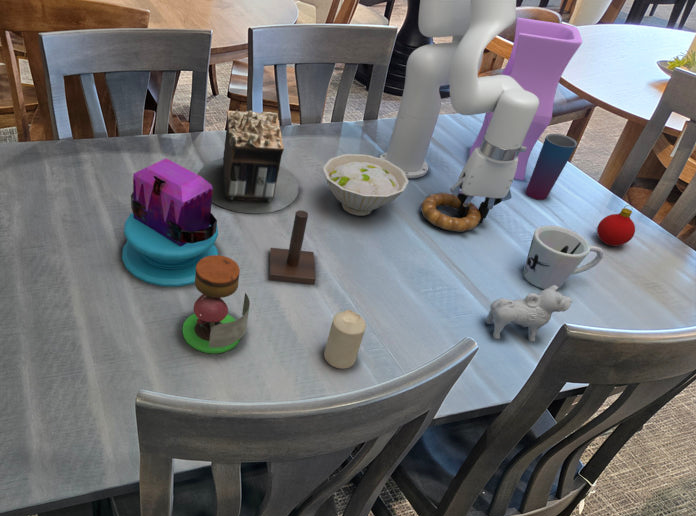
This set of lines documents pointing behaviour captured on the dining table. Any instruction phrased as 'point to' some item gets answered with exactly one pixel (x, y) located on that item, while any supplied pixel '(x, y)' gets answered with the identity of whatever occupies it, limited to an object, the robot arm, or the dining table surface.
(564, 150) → the cup
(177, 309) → the dining table surface
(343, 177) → the bowl
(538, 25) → the container
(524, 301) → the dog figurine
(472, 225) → the ring
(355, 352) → the candle
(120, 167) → the dining table surface
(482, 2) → the robot arm
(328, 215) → the dining table surface
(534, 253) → the mug
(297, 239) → the post
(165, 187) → the decorative object
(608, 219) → the christmas ornament
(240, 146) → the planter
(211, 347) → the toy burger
